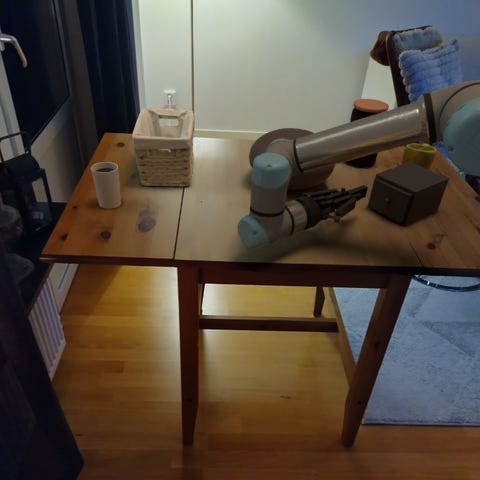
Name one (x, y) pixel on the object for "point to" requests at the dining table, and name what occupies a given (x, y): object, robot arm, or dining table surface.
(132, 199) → the dining table surface
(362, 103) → the coffee jar
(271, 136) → the flattened ellipsoid
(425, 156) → the mug
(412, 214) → the cabinet
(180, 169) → the basket
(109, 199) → the white coffee cup
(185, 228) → the dining table surface
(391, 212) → the drawer
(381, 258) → the dining table surface
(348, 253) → the dining table surface
